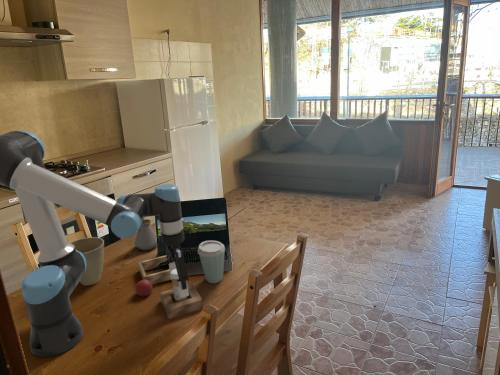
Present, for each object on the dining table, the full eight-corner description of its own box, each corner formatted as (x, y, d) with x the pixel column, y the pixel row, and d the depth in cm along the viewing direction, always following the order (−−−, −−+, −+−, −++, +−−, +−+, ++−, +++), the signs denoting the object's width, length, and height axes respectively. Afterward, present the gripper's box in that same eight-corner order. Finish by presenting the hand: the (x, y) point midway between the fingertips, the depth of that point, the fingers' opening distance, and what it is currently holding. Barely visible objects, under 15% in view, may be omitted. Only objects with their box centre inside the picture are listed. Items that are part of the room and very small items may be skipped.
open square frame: (145, 286, 150) (144, 277, 149) (139, 270, 162) (138, 262, 161) (181, 276, 155) (179, 267, 154) (172, 262, 167) (171, 254, 166)
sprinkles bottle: (190, 305, 136) (186, 271, 132) (178, 310, 134) (173, 275, 130) (184, 299, 140) (180, 266, 136) (173, 304, 137) (168, 270, 133)
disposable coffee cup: (229, 272, 156) (226, 238, 152) (225, 287, 146) (222, 251, 141) (204, 272, 157) (200, 238, 153) (198, 287, 147) (194, 251, 143)
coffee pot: (151, 239, 192) (147, 211, 187) (164, 245, 184) (160, 216, 180) (111, 255, 177) (105, 225, 173) (124, 263, 169) (118, 231, 165)
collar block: (169, 319, 129) (167, 310, 128) (161, 301, 140) (159, 292, 139) (203, 308, 134) (202, 299, 133) (192, 291, 144) (192, 283, 143)
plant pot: (62, 289, 151) (54, 252, 146) (86, 270, 165) (79, 236, 160) (96, 292, 148) (88, 255, 143) (117, 272, 161) (111, 238, 157)
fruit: (139, 303, 143) (142, 291, 138) (132, 291, 145) (134, 278, 140) (154, 296, 146) (157, 284, 141) (147, 284, 149) (150, 272, 144)
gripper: (193, 241, 119) (200, 301, 125) (173, 216, 140) (180, 269, 147) (170, 247, 116) (178, 308, 122) (153, 221, 137) (160, 274, 144)
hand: (179, 287), depth 135 cm, fingers open, 12 cm apart
